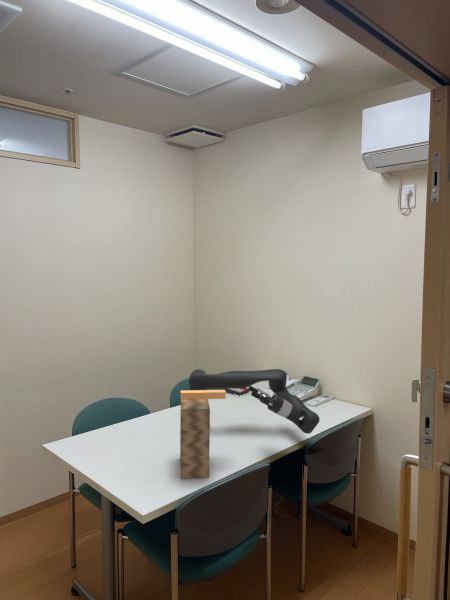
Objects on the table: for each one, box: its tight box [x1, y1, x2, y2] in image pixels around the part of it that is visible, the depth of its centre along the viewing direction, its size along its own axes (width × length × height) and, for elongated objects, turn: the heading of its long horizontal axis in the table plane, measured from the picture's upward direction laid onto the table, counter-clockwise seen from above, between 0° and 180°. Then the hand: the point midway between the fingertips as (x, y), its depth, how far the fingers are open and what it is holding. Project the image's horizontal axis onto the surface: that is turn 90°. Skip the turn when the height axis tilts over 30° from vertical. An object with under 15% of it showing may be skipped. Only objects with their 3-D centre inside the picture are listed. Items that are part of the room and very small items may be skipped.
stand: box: [179, 398, 211, 480], centre depth 196 cm, size 12×20×30 cm, turn 6°
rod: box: [180, 389, 227, 400], centre depth 200 cm, size 20×4×3 cm, turn 96°
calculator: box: [222, 387, 250, 397], centre depth 311 cm, size 11×4×15 cm
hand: (250, 390), depth 205 cm, fingers open, 8 cm apart
